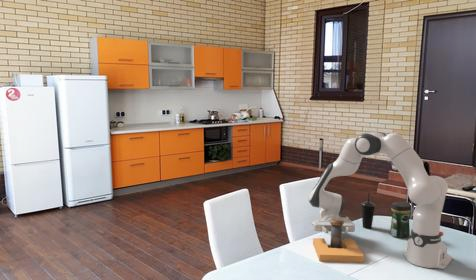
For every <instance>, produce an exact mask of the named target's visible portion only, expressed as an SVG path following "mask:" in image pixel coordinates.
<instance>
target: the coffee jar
mask: <svg viewBox="0 0 476 280" xmlns="http://www.w3.org/2000/svg"><path fill="white" fill-rule="evenodd" d="M411 207H412V205H411V203H409V202H407V201H399V202H398V201H397V202H392V203H391V208H390V209H391V213H392V214H391V215H392V216H391V222H390V228H389V229H390V230H389V234H390V236H392V237H394V238H397V239H400V238H401V239H403V238H408V237H411V230H410V229H411V228H410V215H411V212H412V208H411Z"/></svg>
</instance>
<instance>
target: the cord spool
mask: <svg viewBox="0 0 476 280" xmlns="http://www.w3.org/2000/svg"><path fill="white" fill-rule="evenodd" d="M330 224H331V232H330V245H328V248H344V247H343V246H342V239H343V238H342V237H343V235H342V234H343V232H342V225H343V224H344V220H342V219H339V218H332V219H330Z"/></svg>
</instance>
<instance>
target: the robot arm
mask: <svg viewBox="0 0 476 280" xmlns="http://www.w3.org/2000/svg"><path fill="white" fill-rule="evenodd" d="M379 154H385V155H386V156H387V158H389V160H390V162H391V163H392V164H393V165H394V167H395V168H396V170H397V171H398V172H399V174H400V175H401V178H402V179H403V181H404V184H405V186H406V189H407V195H408V198H409V200H410V201H411V203H413V204H415V208H414V211H413V214H412V215H413V216H412V228H411V230H410V238H408V240H407V245H406V251H404V252H403V256H404V257H405V258H406V260H407V262H409V263H410V264H413V265H415V266H416V267H417V266H418V267H422V268H427V269H433V268H434V269H443V270H445V269H446V268H447V267H448V266H449V264H450V262H451V261H452V260H453V256H452V255H450V254H449V253H448V245H446V244H445V243H444V242H443V241H442V237H443V236H444V232H443V231H440V229H441V216H442V212H443V210H444V204H445V202H446V201H445V200H446V196H447V192H448V189H449V186H448V182H447V181H446V180H445V179H444V178H443V177H441V176H437V175H429V174H428V172H427V171H426V169H425V166H424V162H423V159H421V157H420V156H419V154H418V153H417V151H415V149H414V148H413V147H412V145H410V143H409V142H408V141H407V140H406V139H405V138H404V137H403V136H402V135H400V134H399V133H397V132H391V133H389V134H386V133H384V132H380V131H378V132H377V131H376V132H375V131H374V132H373V131H372V132H366V133H362V134H360V135H358V136H357V137H351V138H348V139H347V140H346V141H345V143H344V145H343V146H342V148H341V150H340V153H339V156H338V157H337V158H336V160H335V161H334V162H331V163H329V164H328V165H327V167H326V168H325V169H324V171H323V173H322V174H321V176H320V177H319V179H318V181H317V183H316V184H315V186H314V187H313V189H311V192H310V193H309V196H308V202H309V204H310V205H311V206H312V207H314V208H319V209H320V210H319V211H318V212H319V219H315V220H313V221H311V225H312V226H313V230H314V231H315V232H324V234H329V233H331V224H330V219H332V218H339V219H342V220H344V224H343V225H342V233H344V234H349V233H354V232H355V231H356V230H355V229H356V225H355V223H354V222H353V221H352V220H351V219H350V218H349V217H348V216H347V215H341V214H342V213H343V211H344V209H345V199H344V197H343V196H342V195H341V194H339V193H335V192H331V191H327V190H325V188H326V186H327V185H328V184H329V181H331V180H332V179H333V178H335V177H345V176H350V175H353V174H355V173H356V172H357V171H358V170H359V167H360V165H361V162H362V159H363V158H364V156H367V157H368V156H376V155H379Z"/></svg>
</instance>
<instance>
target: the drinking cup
mask: <svg viewBox="0 0 476 280" xmlns="http://www.w3.org/2000/svg"><path fill="white" fill-rule="evenodd" d="M360 204H361V219H362V220H361V221H362V222H361V223H362V228H363V229H366V230H372V228H373V222H374V213H375V208H376V204H375V203H373V202H371V201H370V192H367V201H364V202H361V203H360Z"/></svg>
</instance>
